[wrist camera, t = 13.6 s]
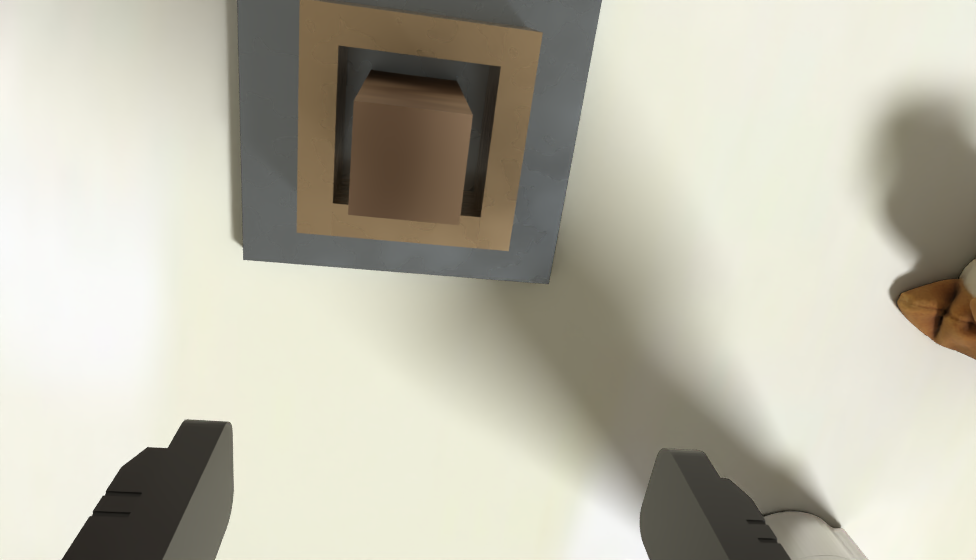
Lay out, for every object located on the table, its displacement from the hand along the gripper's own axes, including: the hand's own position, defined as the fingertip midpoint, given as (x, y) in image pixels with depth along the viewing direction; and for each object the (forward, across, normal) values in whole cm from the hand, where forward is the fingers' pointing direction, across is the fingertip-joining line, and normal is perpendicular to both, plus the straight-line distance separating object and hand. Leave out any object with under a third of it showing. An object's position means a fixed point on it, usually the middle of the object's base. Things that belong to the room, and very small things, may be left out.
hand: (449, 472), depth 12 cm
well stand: (+23, +1, -3) cm, 23 cm away
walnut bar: (+22, +1, -3) cm, 22 cm away
